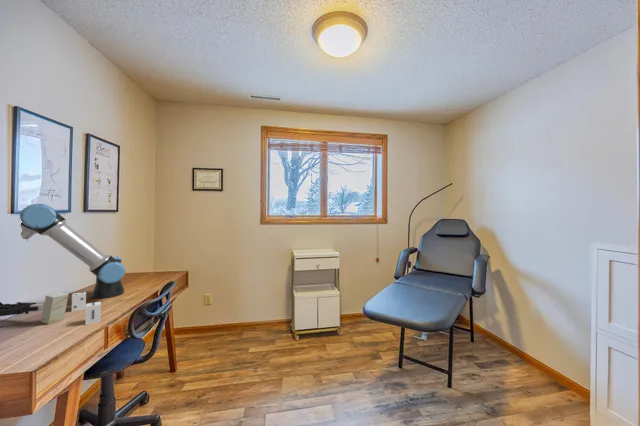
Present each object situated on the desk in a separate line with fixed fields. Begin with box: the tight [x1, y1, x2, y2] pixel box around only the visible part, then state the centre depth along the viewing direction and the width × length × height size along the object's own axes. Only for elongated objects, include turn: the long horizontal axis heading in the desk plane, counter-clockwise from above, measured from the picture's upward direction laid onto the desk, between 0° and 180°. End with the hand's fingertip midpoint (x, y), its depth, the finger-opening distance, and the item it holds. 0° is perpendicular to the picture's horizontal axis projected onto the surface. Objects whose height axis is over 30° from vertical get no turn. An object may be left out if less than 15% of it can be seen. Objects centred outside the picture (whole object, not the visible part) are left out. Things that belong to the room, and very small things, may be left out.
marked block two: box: [71, 291, 87, 312], centre depth 129 cm, size 5×5×8 cm
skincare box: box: [40, 291, 69, 325], centre depth 114 cm, size 6×4×12 cm
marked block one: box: [84, 301, 102, 326], centre depth 114 cm, size 5×5×8 cm
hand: (48, 307), depth 114 cm, fingers closed
